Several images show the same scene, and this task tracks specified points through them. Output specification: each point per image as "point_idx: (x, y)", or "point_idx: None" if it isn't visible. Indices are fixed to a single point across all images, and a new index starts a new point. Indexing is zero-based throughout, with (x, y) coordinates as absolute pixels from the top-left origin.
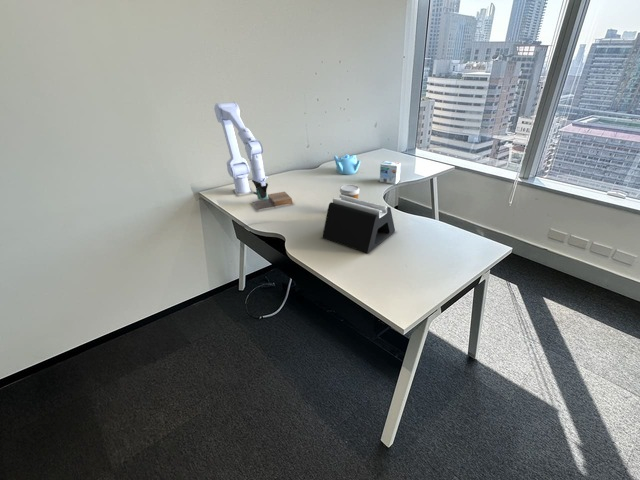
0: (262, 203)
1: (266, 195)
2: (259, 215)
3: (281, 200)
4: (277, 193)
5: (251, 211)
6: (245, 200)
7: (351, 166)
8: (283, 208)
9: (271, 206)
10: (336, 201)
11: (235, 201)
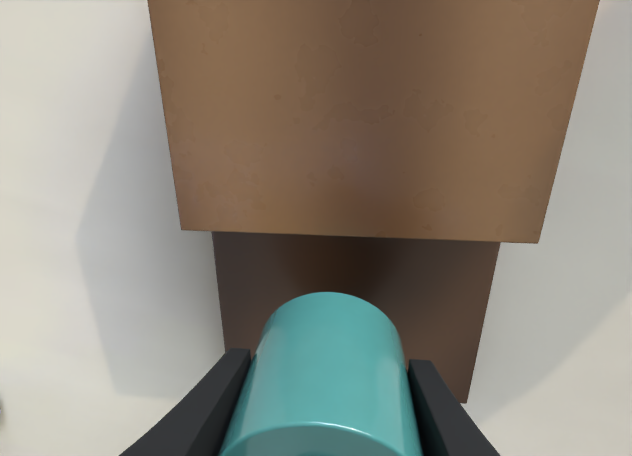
0: None
1: (389, 345)
2: (575, 402)
3: (568, 115)
4: (188, 68)
5: None
6: (131, 391)
7: None
8: (595, 116)
9: (479, 255)
10: None
11: None
